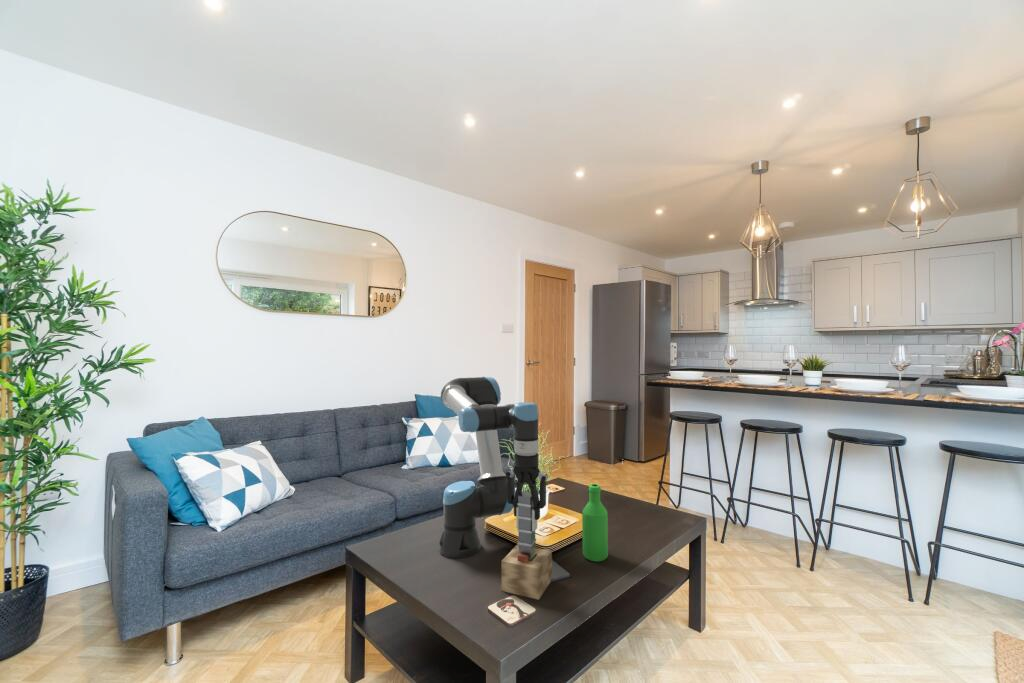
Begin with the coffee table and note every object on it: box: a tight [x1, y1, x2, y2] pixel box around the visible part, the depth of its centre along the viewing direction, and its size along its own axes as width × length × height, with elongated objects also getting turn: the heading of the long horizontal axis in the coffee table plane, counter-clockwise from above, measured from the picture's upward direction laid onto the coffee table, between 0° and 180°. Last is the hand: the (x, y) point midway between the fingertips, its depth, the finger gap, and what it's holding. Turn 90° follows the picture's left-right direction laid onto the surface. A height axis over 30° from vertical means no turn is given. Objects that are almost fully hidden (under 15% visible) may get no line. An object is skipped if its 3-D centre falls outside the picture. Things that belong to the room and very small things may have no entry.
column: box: [517, 491, 537, 561], centre depth 137 cm, size 4×4×22 cm
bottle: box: [581, 483, 609, 562], centre depth 155 cm, size 9×9×25 cm
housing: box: [500, 544, 553, 601], centre depth 137 cm, size 12×12×11 cm
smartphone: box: [550, 559, 571, 583], centre depth 147 cm, size 8×1×15 cm
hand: (526, 528), depth 137 cm, fingers closed on column, 4 cm apart
